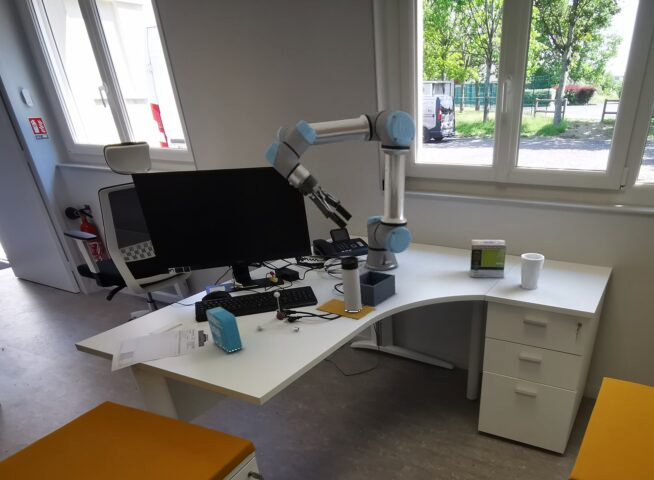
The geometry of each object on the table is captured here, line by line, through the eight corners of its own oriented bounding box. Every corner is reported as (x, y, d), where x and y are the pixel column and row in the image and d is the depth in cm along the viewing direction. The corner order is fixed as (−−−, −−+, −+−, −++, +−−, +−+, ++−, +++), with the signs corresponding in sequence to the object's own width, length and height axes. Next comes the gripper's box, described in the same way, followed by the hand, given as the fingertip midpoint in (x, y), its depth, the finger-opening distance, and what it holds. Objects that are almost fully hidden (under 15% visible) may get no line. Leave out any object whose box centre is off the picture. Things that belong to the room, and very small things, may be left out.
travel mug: (364, 308, 174) (361, 256, 164) (357, 314, 169) (353, 261, 158) (350, 306, 176) (345, 254, 165) (342, 312, 171) (337, 260, 160)
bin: (348, 300, 182) (346, 281, 178) (370, 288, 193) (369, 270, 189) (374, 306, 177) (373, 287, 172) (395, 293, 188) (394, 275, 184)
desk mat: (315, 309, 174) (315, 308, 174) (333, 299, 183) (333, 298, 182) (358, 319, 166) (358, 318, 166) (375, 309, 174) (374, 308, 174)
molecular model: (290, 315, 170) (284, 283, 163) (300, 331, 158) (295, 297, 152) (253, 322, 164) (246, 289, 158) (261, 339, 153) (254, 304, 146)
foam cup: (541, 284, 197) (546, 254, 190) (537, 291, 190) (541, 261, 183) (520, 281, 200) (524, 252, 193) (515, 288, 193) (518, 258, 186)
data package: (213, 342, 151) (204, 309, 144) (226, 338, 154) (218, 305, 147) (230, 355, 144) (221, 320, 137) (243, 350, 146) (235, 315, 140)
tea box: (502, 271, 212) (505, 239, 204) (503, 278, 204) (506, 245, 196) (469, 270, 213) (471, 238, 205) (469, 277, 205) (471, 244, 197)
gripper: (305, 183, 180) (346, 222, 188) (289, 195, 159) (336, 238, 167) (316, 168, 177) (358, 208, 185) (302, 178, 156) (349, 223, 164)
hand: (347, 222), depth 176 cm, fingers open, 13 cm apart
